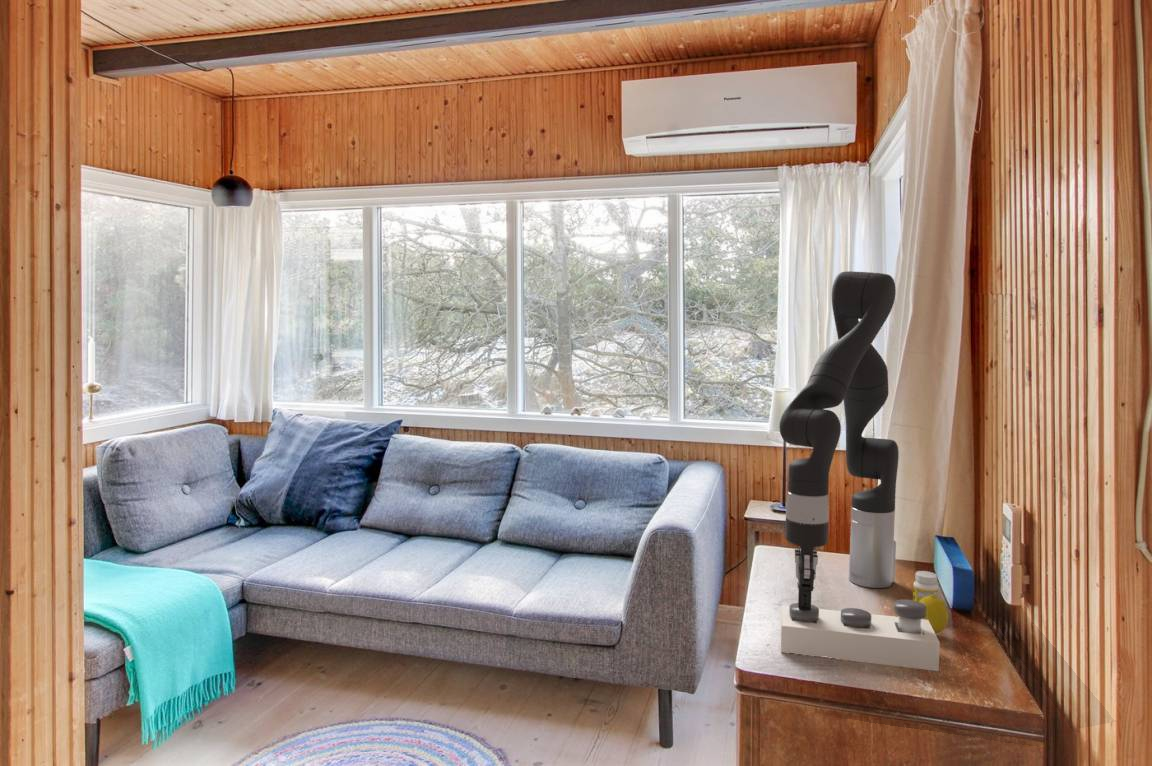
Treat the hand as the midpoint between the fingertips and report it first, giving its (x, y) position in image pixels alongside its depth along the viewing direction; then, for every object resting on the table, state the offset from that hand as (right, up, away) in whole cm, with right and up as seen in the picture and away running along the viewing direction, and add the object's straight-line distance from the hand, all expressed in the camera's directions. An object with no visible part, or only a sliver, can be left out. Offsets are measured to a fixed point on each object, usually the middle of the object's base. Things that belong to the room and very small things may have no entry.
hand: (804, 608), depth 135 cm
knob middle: (+9, -6, -2) cm, 11 cm away
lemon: (+26, -7, +4) cm, 27 cm away
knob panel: (+9, -7, -2) cm, 11 cm away
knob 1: (0, -5, +1) cm, 5 cm away
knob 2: (+17, -3, -4) cm, 18 cm away
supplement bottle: (+29, -6, +15) cm, 33 cm away
